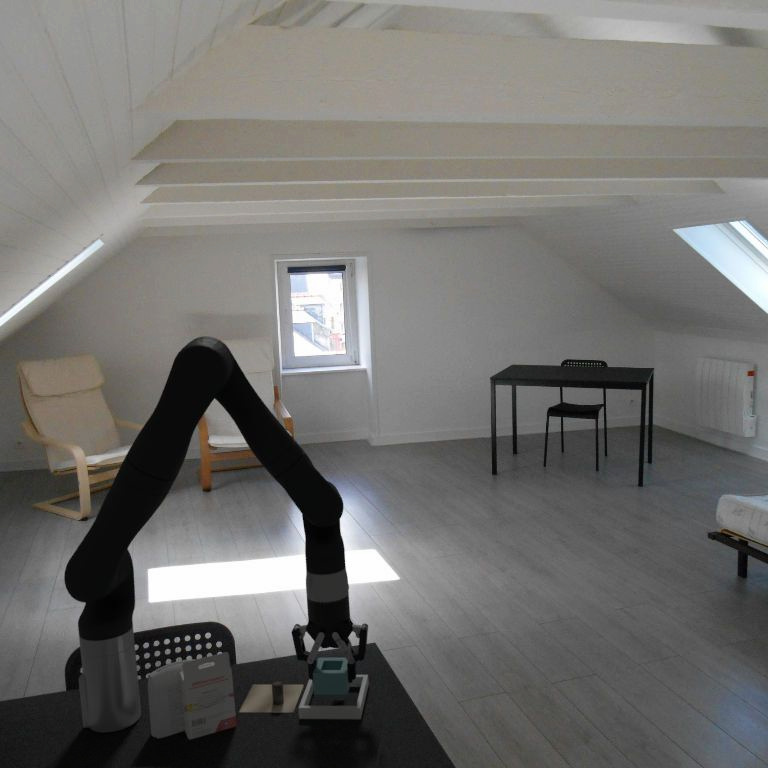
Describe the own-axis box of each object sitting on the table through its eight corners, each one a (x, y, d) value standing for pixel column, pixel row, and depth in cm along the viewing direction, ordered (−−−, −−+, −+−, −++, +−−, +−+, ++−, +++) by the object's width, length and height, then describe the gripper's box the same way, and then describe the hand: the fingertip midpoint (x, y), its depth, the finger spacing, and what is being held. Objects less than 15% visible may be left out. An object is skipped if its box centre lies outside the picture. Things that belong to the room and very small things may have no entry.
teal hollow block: (314, 694, 143) (312, 673, 142) (322, 672, 151) (320, 652, 150) (347, 694, 142) (346, 673, 142) (353, 672, 150) (352, 652, 149)
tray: (299, 723, 142) (298, 708, 141) (311, 689, 153) (311, 674, 153) (361, 724, 140) (360, 708, 140) (368, 689, 152) (368, 674, 152)
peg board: (239, 717, 145) (237, 693, 144) (253, 689, 155) (251, 667, 154) (293, 717, 144) (291, 694, 143) (304, 689, 154) (302, 667, 153)
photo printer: (205, 715, 146) (200, 650, 144) (213, 725, 142) (207, 659, 141) (148, 733, 141) (142, 667, 139) (155, 745, 137) (149, 676, 135)
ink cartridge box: (230, 718, 145) (224, 641, 143) (237, 731, 140) (231, 652, 138) (182, 731, 141) (175, 652, 139) (188, 745, 137) (181, 664, 135)
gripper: (283, 601, 140) (290, 691, 142) (364, 600, 139) (370, 691, 141) (292, 584, 148) (298, 671, 150) (369, 583, 146) (374, 670, 148)
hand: (333, 680), depth 145 cm, fingers closed on teal hollow block, 6 cm apart
